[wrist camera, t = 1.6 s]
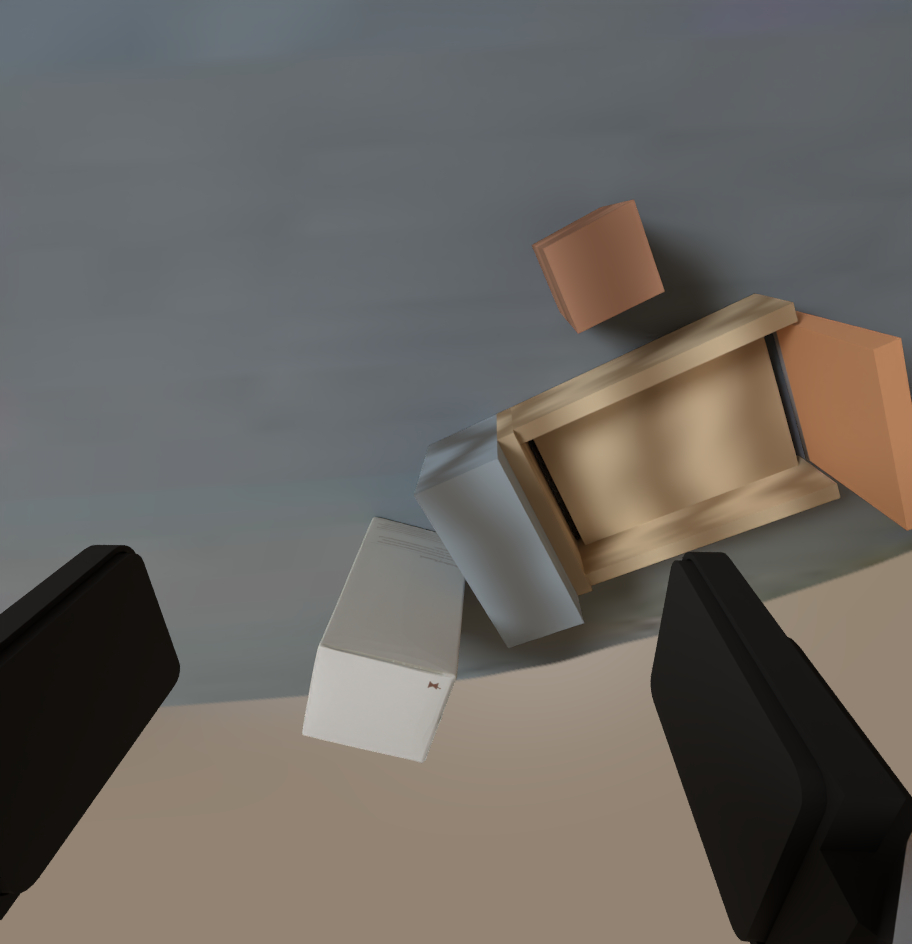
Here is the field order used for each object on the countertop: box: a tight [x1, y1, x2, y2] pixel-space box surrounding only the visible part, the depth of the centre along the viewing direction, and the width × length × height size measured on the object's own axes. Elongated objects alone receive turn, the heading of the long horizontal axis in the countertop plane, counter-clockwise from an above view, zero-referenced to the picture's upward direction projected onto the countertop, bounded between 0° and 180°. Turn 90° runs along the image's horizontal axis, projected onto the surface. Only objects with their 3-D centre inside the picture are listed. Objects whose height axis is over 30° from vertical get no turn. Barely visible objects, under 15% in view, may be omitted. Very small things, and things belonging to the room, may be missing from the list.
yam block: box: [532, 200, 664, 334], centre depth 25 cm, size 4×4×7 cm
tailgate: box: [773, 311, 912, 530], centre depth 26 cm, size 1×10×9 cm, turn 27°
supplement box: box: [302, 517, 465, 763], centre depth 32 cm, size 7×7×13 cm
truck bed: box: [414, 294, 840, 648], centre depth 30 cm, size 21×12×7 cm, turn 118°
